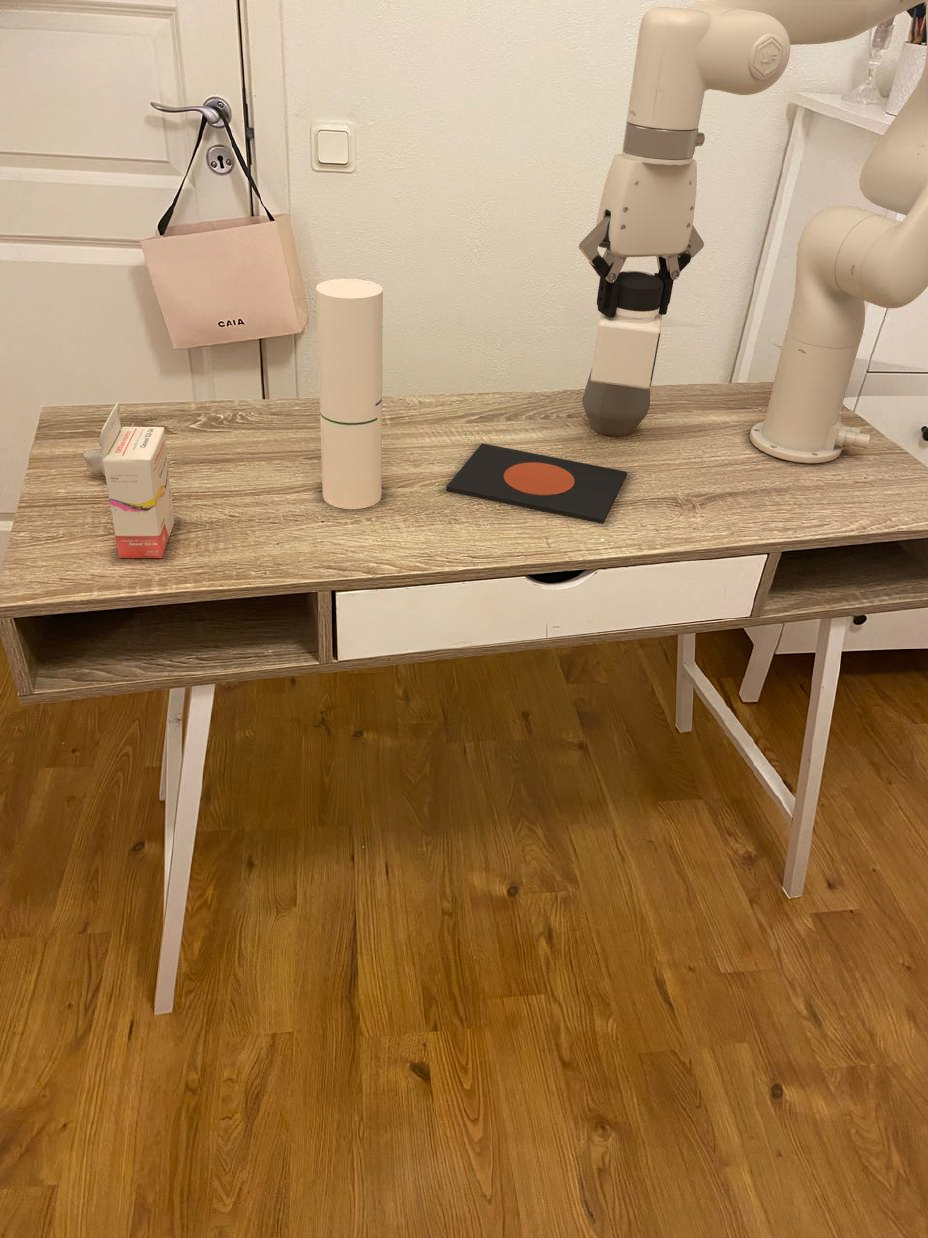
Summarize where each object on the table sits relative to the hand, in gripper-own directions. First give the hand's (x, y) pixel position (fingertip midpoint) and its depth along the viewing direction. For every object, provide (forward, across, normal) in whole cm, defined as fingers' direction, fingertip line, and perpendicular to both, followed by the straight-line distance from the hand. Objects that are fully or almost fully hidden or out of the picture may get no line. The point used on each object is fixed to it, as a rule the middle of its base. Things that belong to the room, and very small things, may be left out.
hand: (631, 311), depth 116 cm
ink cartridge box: (+23, +57, -1) cm, 61 cm away
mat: (+22, +8, -2) cm, 24 cm away
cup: (+22, -9, -15) cm, 28 cm away
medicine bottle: (+8, 0, 0) cm, 8 cm away
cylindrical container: (+23, +32, -5) cm, 40 cm away
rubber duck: (+23, +59, -17) cm, 65 cm away
